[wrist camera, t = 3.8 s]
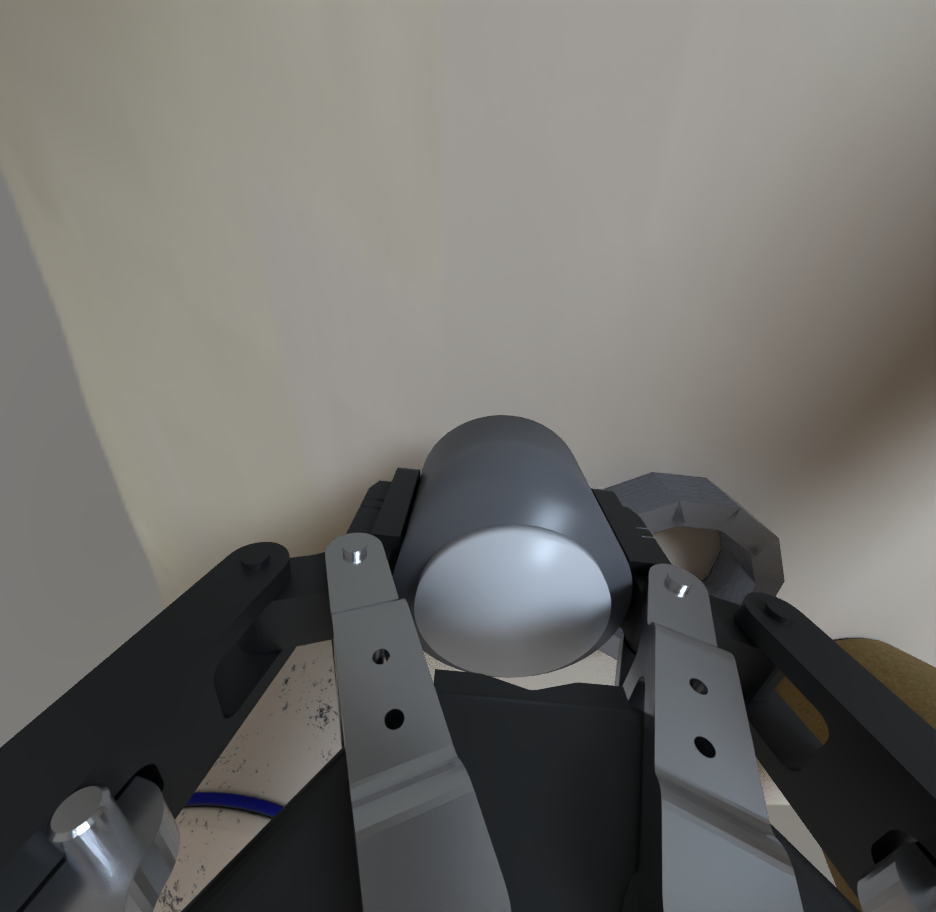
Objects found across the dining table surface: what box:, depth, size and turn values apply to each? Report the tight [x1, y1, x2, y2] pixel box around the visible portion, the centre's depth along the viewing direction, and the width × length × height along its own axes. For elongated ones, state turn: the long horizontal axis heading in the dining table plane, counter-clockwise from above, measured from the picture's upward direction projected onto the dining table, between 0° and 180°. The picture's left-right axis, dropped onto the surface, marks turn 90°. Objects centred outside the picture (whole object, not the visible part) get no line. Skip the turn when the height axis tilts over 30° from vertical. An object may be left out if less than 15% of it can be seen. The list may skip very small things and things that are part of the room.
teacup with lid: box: [155, 640, 341, 912], centre depth 19 cm, size 12×9×12 cm
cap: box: [393, 415, 633, 678], centre depth 11 cm, size 6×6×5 cm
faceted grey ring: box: [599, 472, 784, 660], centre depth 19 cm, size 10×10×3 cm
